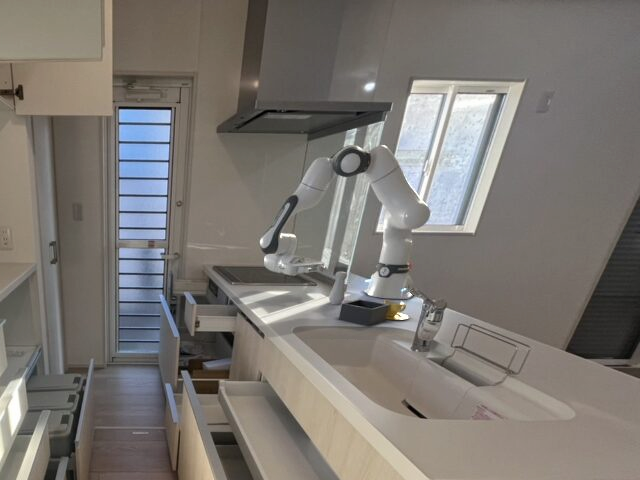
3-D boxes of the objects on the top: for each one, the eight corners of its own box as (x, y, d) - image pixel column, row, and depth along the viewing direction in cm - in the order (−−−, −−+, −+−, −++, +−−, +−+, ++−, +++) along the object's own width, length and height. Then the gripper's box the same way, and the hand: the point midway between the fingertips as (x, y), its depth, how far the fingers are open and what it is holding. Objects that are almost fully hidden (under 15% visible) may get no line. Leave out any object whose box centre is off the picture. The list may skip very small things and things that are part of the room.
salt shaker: (330, 301, 176) (336, 270, 170) (344, 303, 172) (351, 271, 167) (326, 303, 171) (332, 272, 166) (340, 305, 168) (347, 273, 163)
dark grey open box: (356, 314, 156) (359, 299, 153) (385, 320, 148) (389, 304, 145) (338, 319, 150) (341, 303, 148) (368, 325, 142) (371, 309, 140)
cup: (382, 321, 147) (386, 306, 145) (365, 312, 158) (368, 298, 156) (415, 320, 147) (420, 305, 145) (396, 312, 158) (399, 298, 155)
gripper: (276, 259, 183) (300, 264, 172) (310, 257, 191) (335, 260, 179) (274, 274, 186) (297, 279, 174) (307, 270, 193) (332, 275, 182)
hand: (316, 269), depth 177 cm, fingers open, 8 cm apart
